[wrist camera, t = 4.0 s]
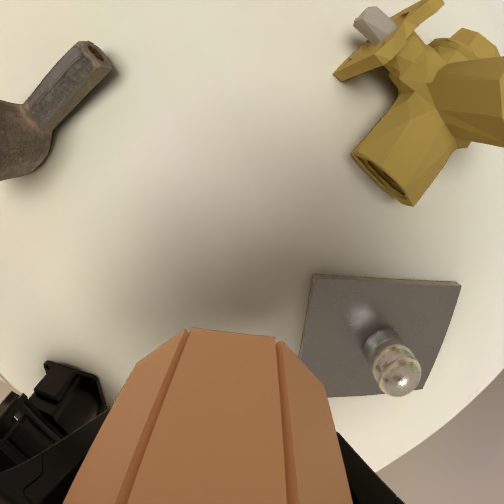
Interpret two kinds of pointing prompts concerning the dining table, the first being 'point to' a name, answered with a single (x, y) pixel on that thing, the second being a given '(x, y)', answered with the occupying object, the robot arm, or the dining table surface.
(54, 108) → the pipe
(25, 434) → the robot arm
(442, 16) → the dining table surface
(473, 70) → the ball valve
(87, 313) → the dining table surface
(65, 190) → the dining table surface
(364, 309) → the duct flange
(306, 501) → the collar
